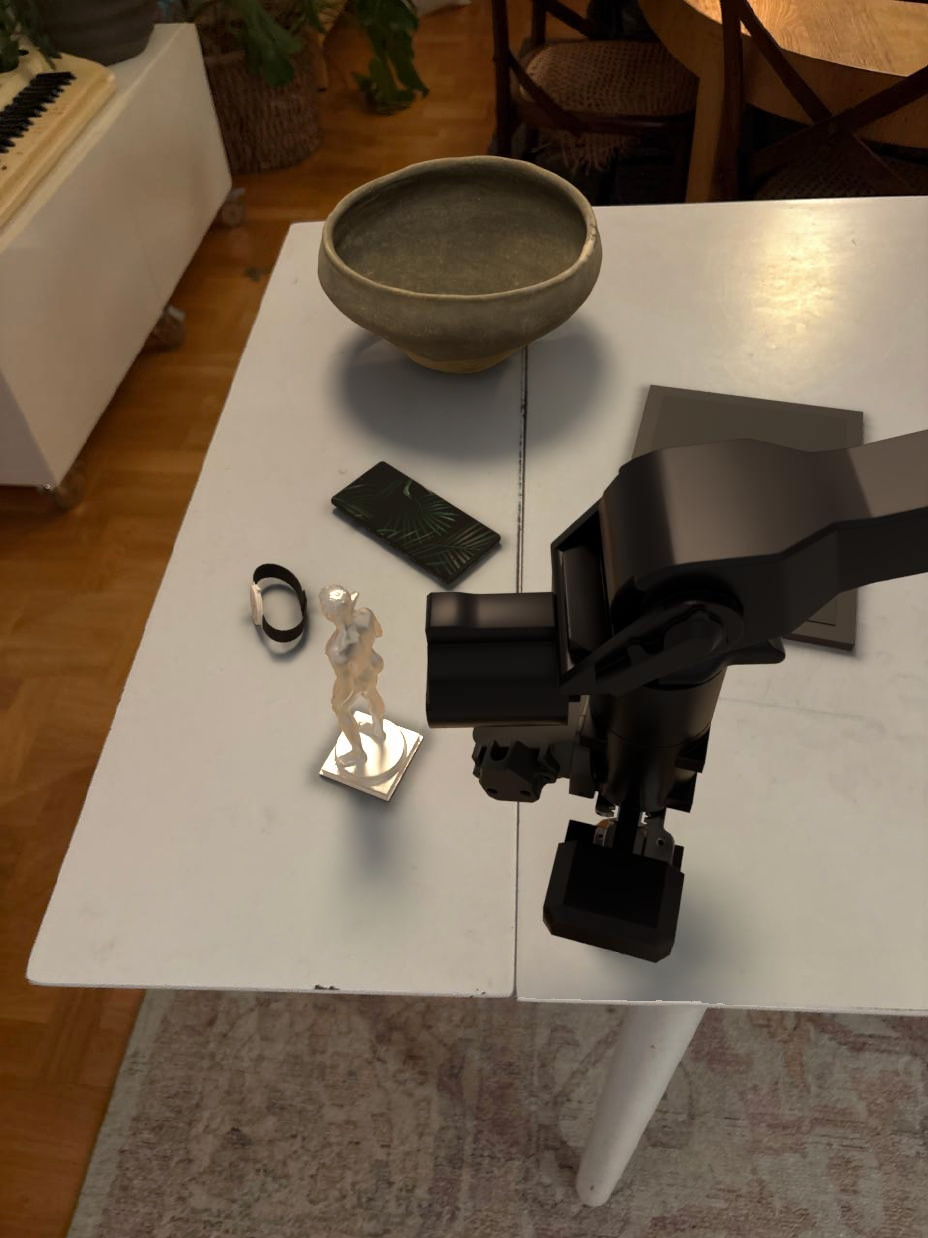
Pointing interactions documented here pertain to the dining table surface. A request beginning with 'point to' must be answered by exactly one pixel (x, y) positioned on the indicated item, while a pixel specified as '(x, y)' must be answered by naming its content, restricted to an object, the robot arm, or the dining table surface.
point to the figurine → (367, 743)
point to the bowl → (461, 258)
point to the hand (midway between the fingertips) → (625, 836)
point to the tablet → (782, 423)
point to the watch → (257, 606)
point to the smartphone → (416, 521)
